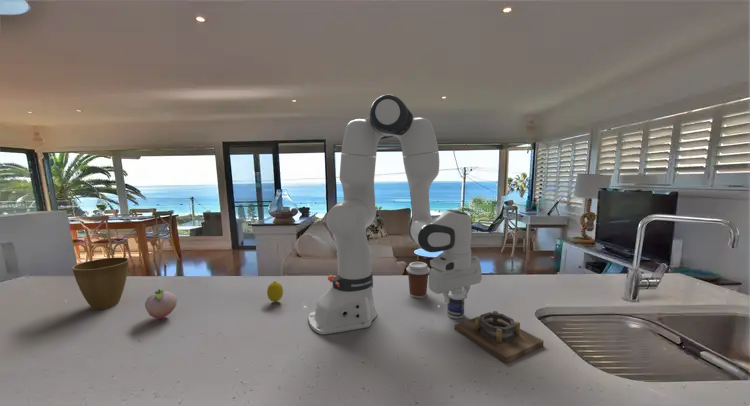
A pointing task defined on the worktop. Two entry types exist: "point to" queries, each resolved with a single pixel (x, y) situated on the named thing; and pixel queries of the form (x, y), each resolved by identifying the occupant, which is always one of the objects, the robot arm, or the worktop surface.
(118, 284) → the plant pot
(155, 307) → the decorative fruit
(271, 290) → the lemon
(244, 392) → the worktop surface
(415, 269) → the coffee cup
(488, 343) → the collar stand
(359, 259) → the robot arm
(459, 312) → the pill bottle
